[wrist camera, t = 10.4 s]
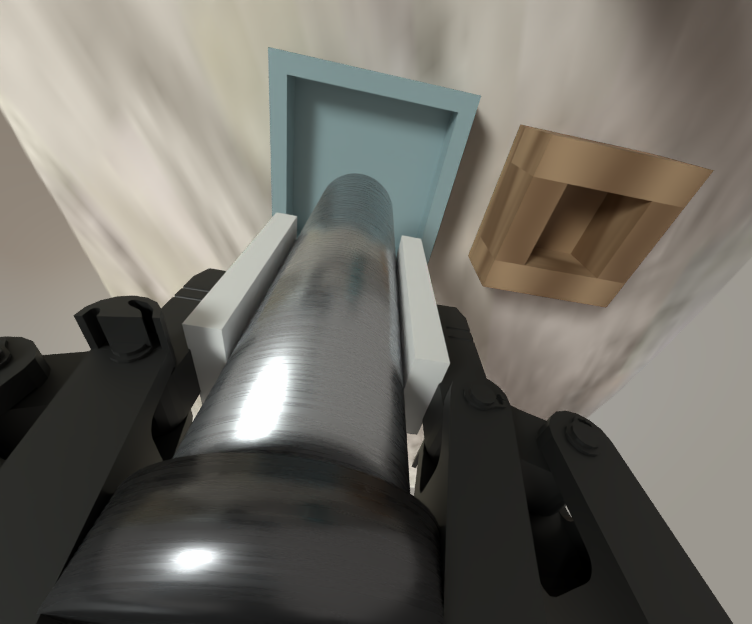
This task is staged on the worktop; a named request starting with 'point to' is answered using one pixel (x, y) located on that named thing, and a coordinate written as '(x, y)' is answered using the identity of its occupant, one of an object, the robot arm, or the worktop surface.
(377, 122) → the tray
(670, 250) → the worktop surface
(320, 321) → the steel pin
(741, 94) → the worktop surface
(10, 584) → the robot arm
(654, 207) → the socket block
